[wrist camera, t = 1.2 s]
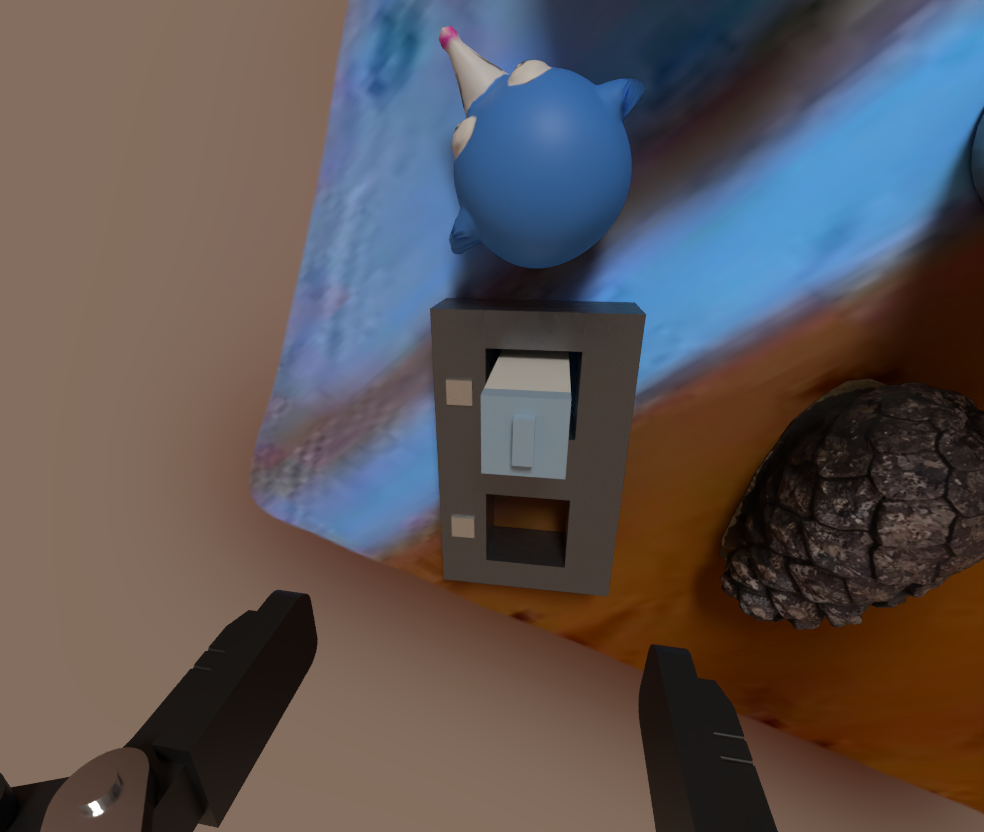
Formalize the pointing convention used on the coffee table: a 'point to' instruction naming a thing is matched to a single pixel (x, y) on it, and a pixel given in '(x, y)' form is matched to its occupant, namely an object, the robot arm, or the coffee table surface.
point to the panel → (591, 444)
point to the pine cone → (860, 505)
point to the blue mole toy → (537, 157)
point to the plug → (526, 414)
